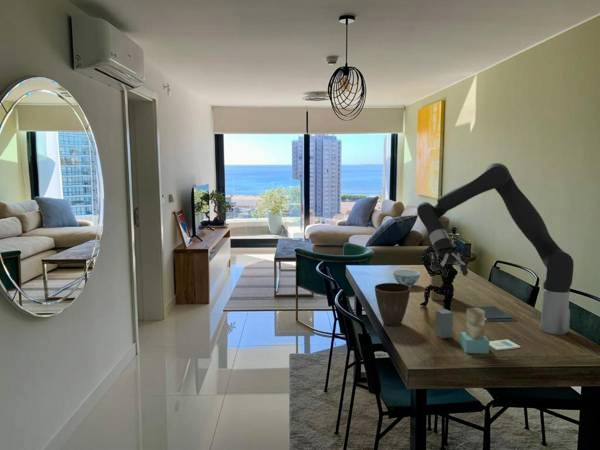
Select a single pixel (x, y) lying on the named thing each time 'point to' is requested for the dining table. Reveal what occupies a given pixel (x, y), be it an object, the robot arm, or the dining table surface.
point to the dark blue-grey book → (495, 314)
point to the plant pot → (392, 302)
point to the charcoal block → (444, 323)
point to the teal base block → (474, 344)
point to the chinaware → (406, 277)
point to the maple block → (475, 323)
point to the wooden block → (438, 282)
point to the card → (503, 344)
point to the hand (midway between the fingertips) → (456, 275)
